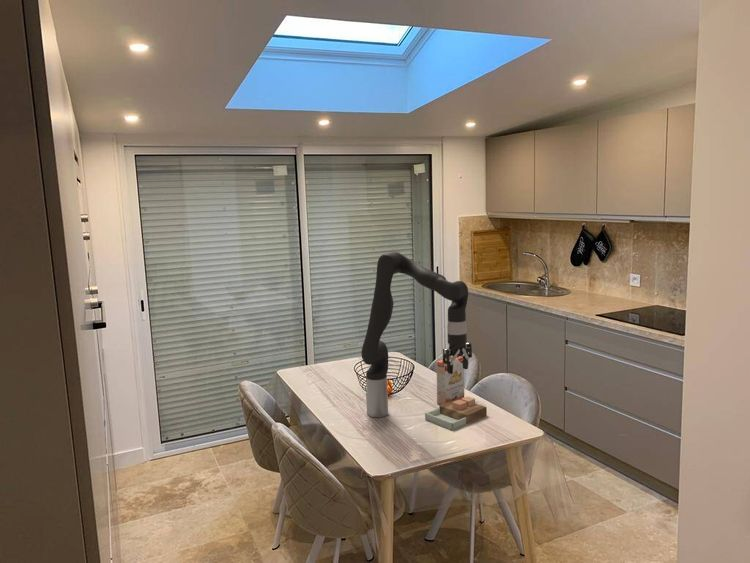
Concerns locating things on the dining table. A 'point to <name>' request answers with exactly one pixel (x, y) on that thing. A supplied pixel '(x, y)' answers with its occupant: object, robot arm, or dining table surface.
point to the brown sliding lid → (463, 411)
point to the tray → (444, 420)
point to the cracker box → (450, 381)
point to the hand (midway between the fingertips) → (457, 371)
